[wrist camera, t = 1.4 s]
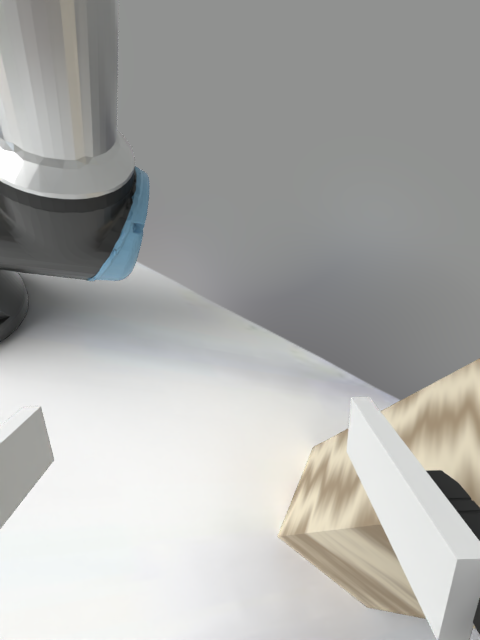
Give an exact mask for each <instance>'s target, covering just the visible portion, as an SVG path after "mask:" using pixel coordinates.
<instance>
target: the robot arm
mask: <svg viewBox="0 0 480 640" xmlns="http://www.w3.org/2000/svg"><path fill="white" fill-rule="evenodd" d="M118 21H119V0H0V342H1V341H2V340H4V339H5V338H6V337H8V336H9V335H10V334H11V333H12V332H14V331H15V330H16V328H17V327H18V326H19V325H20V324H21V322H22V321H23V319H24V317H25V315H26V313H27V309H28V295H27V291H26V288H25V285H24V282H23V280H22V278H21V277H20V275H19V274H18V272H23V273H31V274H40V275H49V276H57V277H66V278H75V279H83V280H87V281H94V280H114V281H118V280H122V279H124V278H126V277H127V276H129V274H130V273H131V272H132V270H133V268H134V266H135V263H136V261H137V257H138V253H139V250H140V246H141V242H142V237H143V228H144V223H145V220H146V216H147V209H148V201H149V177H148V175H147V174H146V173H145V172H144V171H142V170H140V169H139V168H137V167H136V166H135V157H134V153H133V150H132V147H131V146H130V144H129V143H128V141H127V140H126V139H125V138H124V136H123V135H122V134H121V133H120V132H119V131H118V130H117V89H118V24H119V22H118ZM347 454H348V456H349V458H350V460H351V462H352V464H353V466H354V468H355V470H356V472H357V475H358V477H359V479H360V481H361V483H362V485H363V487H364V489H365V491H366V493H367V495H368V498H369V500H370V502H371V504H372V506H373V508H374V510H375V512H376V514H377V516H378V518H379V521H380V523H381V525H382V527H383V529H384V531H385V533H386V535H387V537H388V539H389V541H390V544H391V546H392V548H393V550H394V552H395V554H396V556H397V558H398V560H399V562H400V565H401V567H402V569H403V571H404V573H405V575H406V577H407V579H408V581H409V583H410V585H411V588H412V590H413V592H414V594H415V596H416V598H417V600H418V602H419V604H420V606H421V608H422V611H423V613H424V615H425V617H426V619H427V621H428V623H429V625H430V627H431V629H432V631H433V634H434V636H435V638H436V640H470V636H471V633H472V629H473V626H475V627H476V629H477V631H478V632H479V634H480V507H479V506H478V505H477V504H476V503H475V502H474V500H473V501H472V500H471V497H470V496H469V495H468V493H467V492H466V491H465V490H464V489H463V488H462V486H461V485H460V484H459V483H458V482H457V481H455V480H454V479H453V478H451V477H450V476H449V475H447V474H446V473H444V472H443V471H442V470H429V471H426V470H425V469H424V468H423V466H422V465H421V464H420V462H419V461H418V460H417V459H416V457H415V456H414V455H413V453H412V452H411V451H410V449H409V448H408V447H407V445H406V444H405V443H404V441H403V440H402V439H401V438H400V436H399V435H398V434H397V432H396V431H395V430H394V428H393V427H392V426H391V424H390V423H389V422H388V421H387V419H386V418H385V417H384V415H383V414H382V413H381V411H380V410H379V409H378V407H377V406H376V405H375V404H374V402H373V401H372V400H371V398H370V397H351V404H350V416H349V428H348V440H347ZM53 461H54V457H53V453H52V449H51V445H50V441H49V437H48V433H47V429H46V425H45V421H44V417H43V413H42V409H41V406H36V407H22V408H21V409H20V410H19V411H17V412H16V413H15V414H14V415H13V416H11V417H10V418H9V419H8V420H7V421H6V422H4V423H3V424H2V425H1V426H0V529H1V527H2V526H3V525H4V524H5V522H6V521H7V520H8V518H9V517H10V516H11V515H12V513H13V512H14V511H15V509H16V508H17V507H18V506H19V504H20V503H21V502H22V501H23V499H24V498H25V497H26V495H27V494H28V493H29V492H30V490H31V489H32V488H33V486H34V485H35V484H36V483H37V481H38V480H39V479H40V478H41V476H42V475H43V474H44V472H45V471H46V470H47V469H48V467H49V466H50V465H51V463H52V462H53Z"/></svg>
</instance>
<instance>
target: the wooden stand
mask: <svg viewBox="0 0 480 640" xmlns="http://www.w3.org/2000/svg"><path fill="white" fill-rule="evenodd" d="M381 413H382V414H383V415H384V417H385V418H386V419H387V421H388V422H389V423H390V424H391V426H392V427H393V428H394V430H395V431H396V432H397V434H398V435H399V436H400V438H401V439H402V440H403V441H404V443H405V444H406V445H407V447H408V448H409V449H410V451H411V452H412V453H413V455H414V456H415V457H416V459H417V460H418V461H419V462H420V464H421V465H422V466H423V468H424V469H425V470H426V471H429V470H442V471H443V472H444V473H446V474H447V475H449V476H450V477H451V478H453V479H454V480H455V481H457V482H458V483H459V484H460V485H461V486H462V488H463V489H464V490H465V491H466V492H467V493H468V495H469V496H470V497H471V500H472V501H473V500H474V502H475V503H476V504H477V505H478V506H479V507H480V359H478V360H476V361H474V362H473V363H471V364H468V365H467V366H465V367H463V368H461V369H459V370H457V371H456V372H453V373H452V374H450V375H448V376H446V377H444V378H442V379H440V380H438V381H437V382H435V383H433V384H431V385H429V386H427V387H425V388H424V389H421V390H420V391H418V392H416V393H414V394H412V395H410V396H408V397H407V398H405V399H403V400H401V401H399V402H397V403H395V404H393V405H391V406H390V407H388V408H386V409H384V410H382V411H381ZM347 440H348V429H346V430H345V431H343V432H341V433H339V434H337V435H335V436H333V437H331V438H330V439H328V440H326V441H324V442H322V443H320V444H318V445H316V446H315V447H313V449H312V451H311V454H310V456H309V459H308V461H307V464H306V466H305V469H304V471H303V474H302V476H301V479H300V481H299V484H298V486H297V489H296V491H295V494H294V496H293V499H292V501H291V504H290V506H289V509H288V511H287V514H286V516H285V519H284V521H283V524H282V526H281V529H280V531H279V534H278V536H277V537H278V538H280V539H281V540H282V541H284V542H285V543H286V544H287V545H289V546H290V547H291V548H292V549H294V550H295V551H296V552H298V553H299V554H300V555H301V556H303V557H304V558H305V559H306V560H308V561H309V562H310V563H311V564H313V565H314V566H315V567H317V568H318V569H319V570H320V571H322V572H323V573H324V574H325V575H327V576H328V577H329V578H331V579H332V580H333V581H334V582H336V583H337V584H338V585H339V586H341V587H342V588H343V589H344V590H346V591H347V592H348V593H350V594H351V595H352V596H353V597H355V598H356V599H357V600H358V601H360V602H361V603H362V604H364V605H365V606H366V607H368V608H373V609H378V610H383V611H388V612H394V613H399V614H404V615H409V616H414V617H419V618H424V619H426V617H425V615H424V613H423V611H422V608H421V606H420V604H419V602H418V600H417V598H416V596H415V594H414V592H413V590H412V588H411V585H410V583H409V581H408V579H407V577H406V575H405V573H404V571H403V569H402V567H401V565H400V562H399V560H398V558H397V556H396V554H395V552H394V550H393V548H392V546H391V544H390V541H389V539H388V537H387V535H386V533H385V531H384V529H383V527H382V525H381V523H380V521H379V518H378V516H377V514H376V512H375V510H374V508H373V506H372V504H371V502H370V500H369V498H368V495H367V493H366V491H365V489H364V487H363V485H362V483H361V481H360V479H359V477H358V475H357V472H356V470H355V468H354V466H353V464H352V462H351V460H350V458H349V456H348V454H347ZM473 628H476V627H475V626H473Z"/></svg>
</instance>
